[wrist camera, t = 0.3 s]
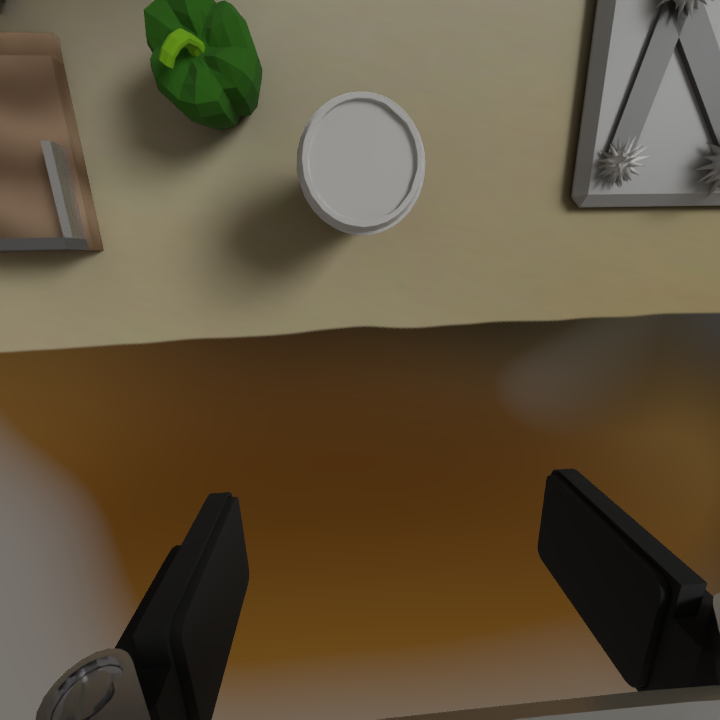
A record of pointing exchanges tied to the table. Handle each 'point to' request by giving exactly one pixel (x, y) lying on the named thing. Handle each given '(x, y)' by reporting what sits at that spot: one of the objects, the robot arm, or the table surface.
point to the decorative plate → (651, 106)
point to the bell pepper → (204, 59)
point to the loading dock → (41, 152)
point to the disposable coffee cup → (361, 163)
